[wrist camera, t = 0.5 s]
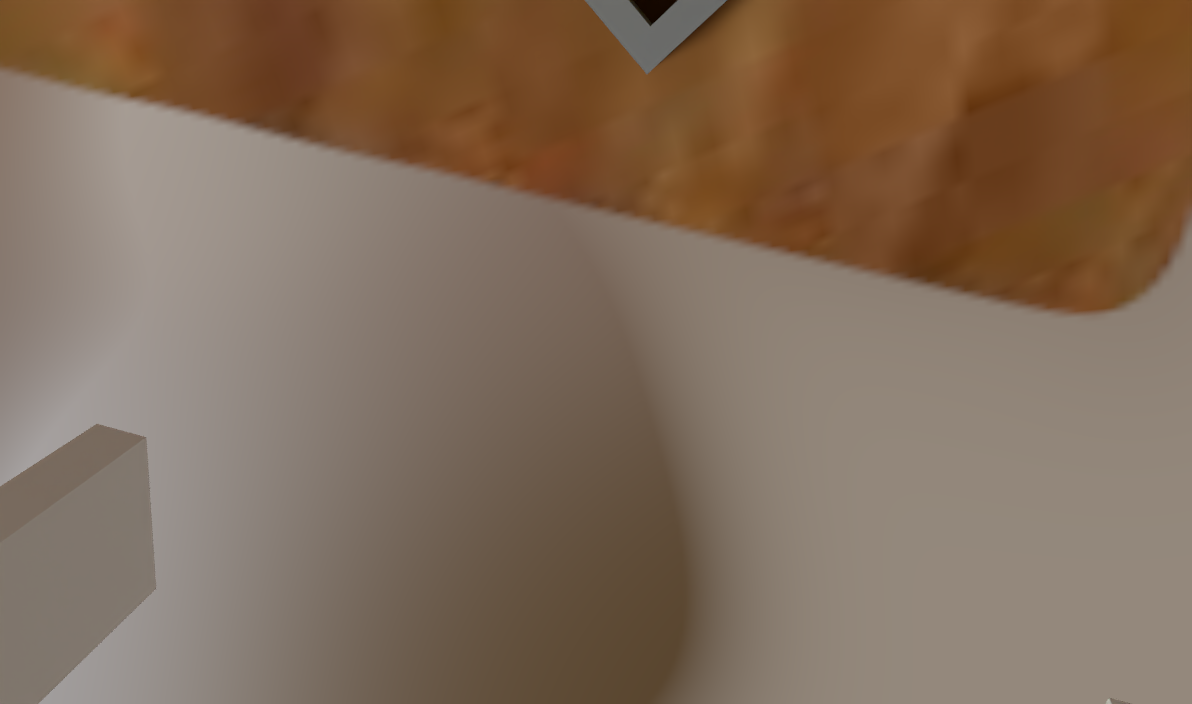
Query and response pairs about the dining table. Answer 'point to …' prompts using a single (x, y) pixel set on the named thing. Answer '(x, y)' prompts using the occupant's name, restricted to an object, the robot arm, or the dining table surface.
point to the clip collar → (652, 26)
